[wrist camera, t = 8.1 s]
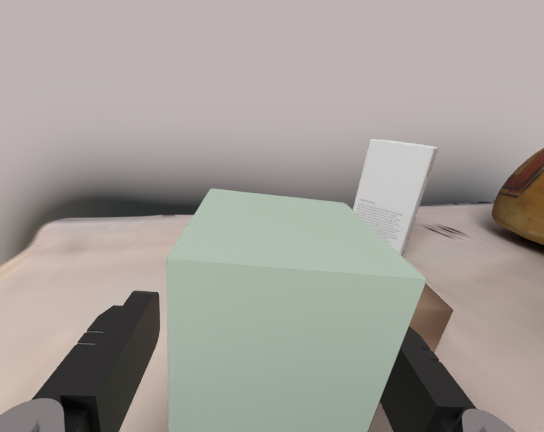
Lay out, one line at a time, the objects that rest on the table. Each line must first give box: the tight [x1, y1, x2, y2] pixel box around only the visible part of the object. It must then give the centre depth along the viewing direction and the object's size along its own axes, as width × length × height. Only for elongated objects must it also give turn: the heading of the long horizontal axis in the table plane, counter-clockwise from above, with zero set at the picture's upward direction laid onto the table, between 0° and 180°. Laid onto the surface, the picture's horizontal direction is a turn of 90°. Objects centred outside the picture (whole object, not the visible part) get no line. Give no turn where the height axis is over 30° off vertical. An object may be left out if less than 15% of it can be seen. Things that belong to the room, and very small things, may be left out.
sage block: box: [166, 189, 427, 432], centre depth 8 cm, size 4×4×11 cm
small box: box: [353, 139, 438, 256], centre depth 31 cm, size 8×6×13 cm
